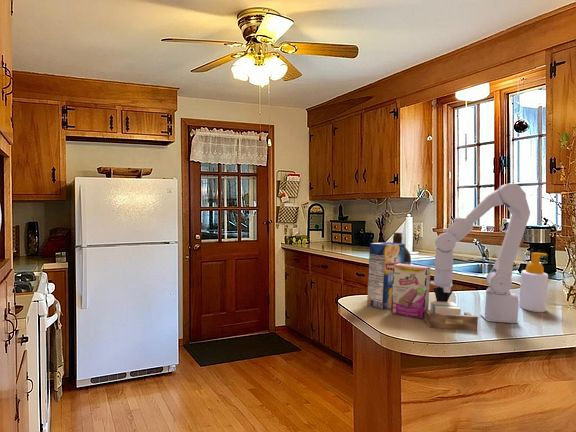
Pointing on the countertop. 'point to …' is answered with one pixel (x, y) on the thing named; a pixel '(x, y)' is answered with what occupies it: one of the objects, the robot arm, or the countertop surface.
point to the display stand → (451, 321)
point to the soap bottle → (534, 285)
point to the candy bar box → (410, 290)
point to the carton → (444, 308)
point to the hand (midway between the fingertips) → (441, 309)
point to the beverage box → (383, 272)
